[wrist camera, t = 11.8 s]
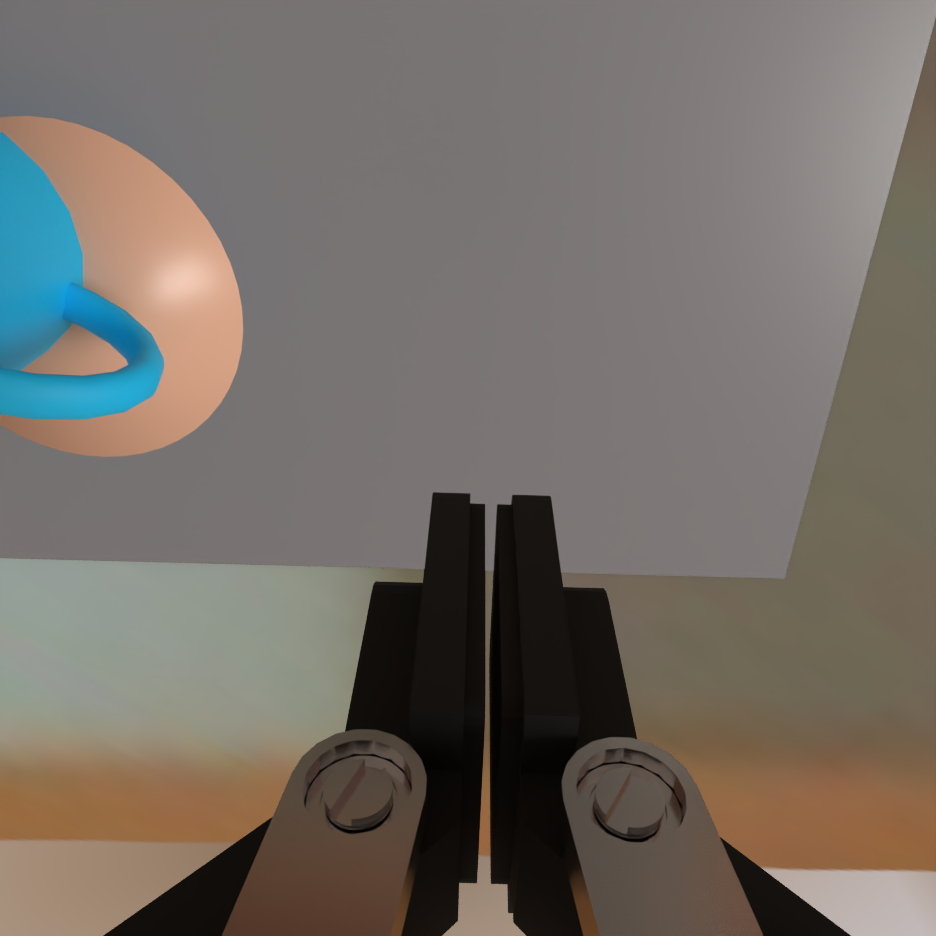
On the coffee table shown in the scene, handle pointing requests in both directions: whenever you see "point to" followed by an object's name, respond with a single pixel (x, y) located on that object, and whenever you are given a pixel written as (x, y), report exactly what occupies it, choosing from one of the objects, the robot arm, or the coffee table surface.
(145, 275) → the mat
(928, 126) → the coffee table surface
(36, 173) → the mug
